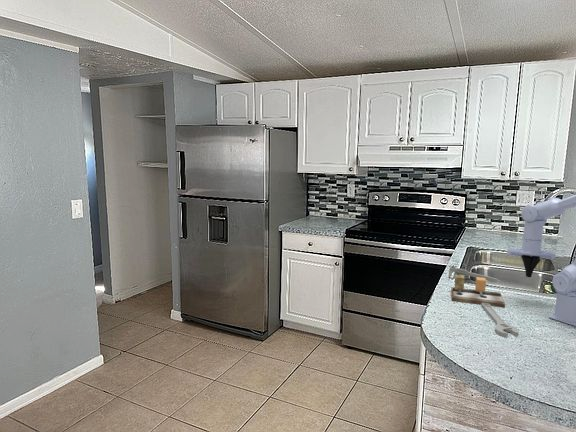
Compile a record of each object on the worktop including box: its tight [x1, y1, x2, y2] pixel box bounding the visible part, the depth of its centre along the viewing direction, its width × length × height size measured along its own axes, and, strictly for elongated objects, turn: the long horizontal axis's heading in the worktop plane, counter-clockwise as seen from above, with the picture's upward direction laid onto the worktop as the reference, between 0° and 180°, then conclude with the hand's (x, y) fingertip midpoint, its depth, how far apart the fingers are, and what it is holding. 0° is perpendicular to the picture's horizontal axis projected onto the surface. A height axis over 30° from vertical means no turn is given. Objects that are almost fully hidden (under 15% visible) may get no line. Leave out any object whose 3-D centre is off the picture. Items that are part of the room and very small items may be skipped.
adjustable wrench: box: [480, 303, 519, 338], centre depth 130 cm, size 25×6×2 cm, turn 165°
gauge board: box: [450, 274, 506, 308], centre depth 148 cm, size 17×12×7 cm
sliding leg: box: [474, 277, 487, 297], centre depth 148 cm, size 3×8×5 cm, turn 159°
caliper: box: [448, 264, 502, 283], centre depth 170 cm, size 20×1×6 cm, turn 76°
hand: (528, 276), depth 144 cm, fingers closed
